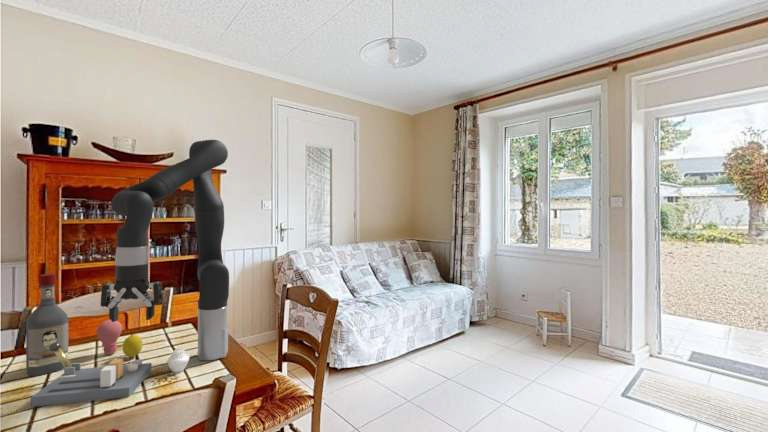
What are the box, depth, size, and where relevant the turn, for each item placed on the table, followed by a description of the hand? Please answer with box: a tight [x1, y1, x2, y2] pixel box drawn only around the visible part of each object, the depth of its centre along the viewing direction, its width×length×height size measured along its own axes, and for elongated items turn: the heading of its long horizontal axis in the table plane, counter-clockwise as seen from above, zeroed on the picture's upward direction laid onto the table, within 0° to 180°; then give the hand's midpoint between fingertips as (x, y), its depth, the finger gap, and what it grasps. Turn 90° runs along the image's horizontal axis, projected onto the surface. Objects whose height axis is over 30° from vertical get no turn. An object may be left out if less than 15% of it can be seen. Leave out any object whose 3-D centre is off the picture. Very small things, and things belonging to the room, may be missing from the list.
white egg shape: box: [166, 348, 190, 373], centre depth 112 cm, size 6×6×7 cm
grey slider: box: [100, 365, 116, 387], centre depth 97 cm, size 2×3×4 cm
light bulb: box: [96, 319, 123, 355], centre depth 124 cm, size 7×7×12 cm
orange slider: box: [108, 358, 124, 379], centre depth 101 cm, size 2×3×4 cm
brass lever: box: [49, 342, 73, 368], centre depth 104 cm, size 3×3×9 cm
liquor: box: [25, 273, 69, 377], centre depth 112 cm, size 9×9×30 cm
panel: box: [30, 358, 153, 408], centre depth 101 cm, size 22×16×4 cm
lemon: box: [122, 333, 143, 358], centre depth 121 cm, size 6×6×8 cm
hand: (132, 320), depth 99 cm, fingers open, 8 cm apart
